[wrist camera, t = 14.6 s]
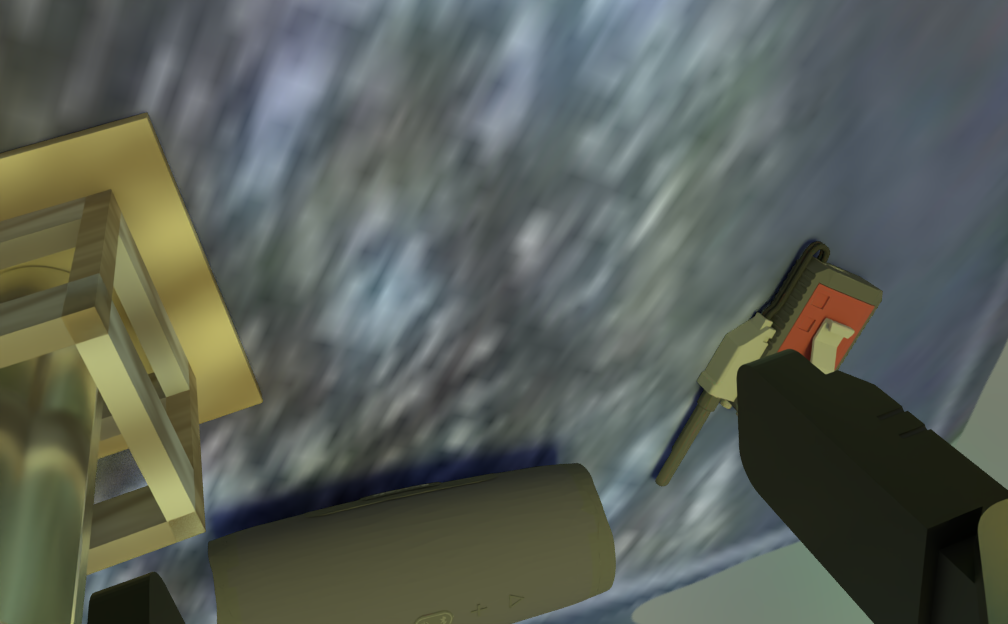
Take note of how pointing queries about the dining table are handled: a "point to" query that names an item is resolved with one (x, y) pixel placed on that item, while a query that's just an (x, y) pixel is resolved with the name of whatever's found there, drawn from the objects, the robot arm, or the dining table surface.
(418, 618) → the bluetooth speaker
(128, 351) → the collar stand
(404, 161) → the dining table surface
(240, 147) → the dining table surface
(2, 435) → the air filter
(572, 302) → the dining table surface
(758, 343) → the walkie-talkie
